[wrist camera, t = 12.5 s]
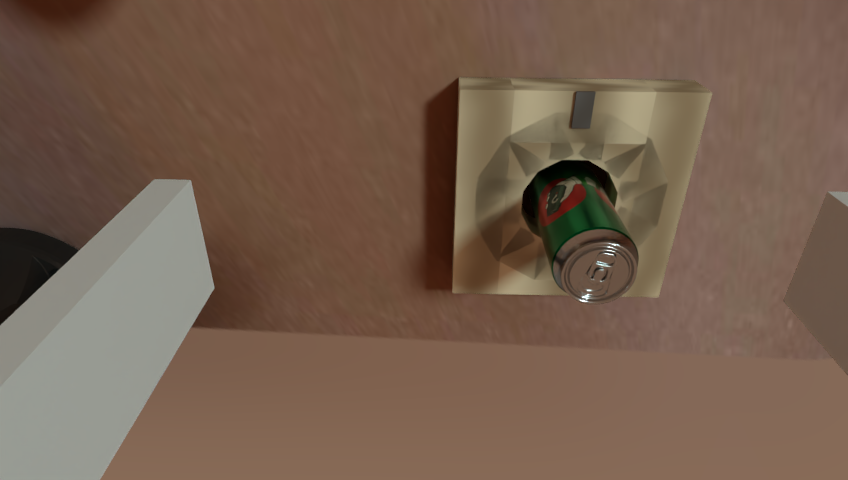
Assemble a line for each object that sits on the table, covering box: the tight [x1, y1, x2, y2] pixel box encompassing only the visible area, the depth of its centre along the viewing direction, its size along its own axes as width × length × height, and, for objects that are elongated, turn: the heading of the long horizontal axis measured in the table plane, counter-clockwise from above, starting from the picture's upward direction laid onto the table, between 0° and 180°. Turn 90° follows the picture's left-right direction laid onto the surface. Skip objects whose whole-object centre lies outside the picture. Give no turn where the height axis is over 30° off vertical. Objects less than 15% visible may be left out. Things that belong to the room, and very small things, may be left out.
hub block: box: [452, 77, 712, 297], centre depth 41 cm, size 16×16×3 cm
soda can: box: [529, 160, 639, 304], centre depth 38 cm, size 5×5×12 cm
